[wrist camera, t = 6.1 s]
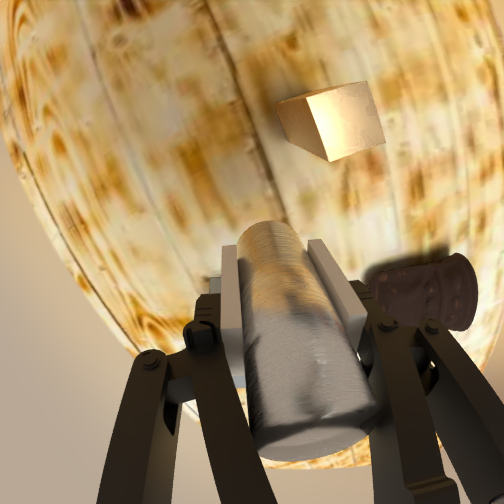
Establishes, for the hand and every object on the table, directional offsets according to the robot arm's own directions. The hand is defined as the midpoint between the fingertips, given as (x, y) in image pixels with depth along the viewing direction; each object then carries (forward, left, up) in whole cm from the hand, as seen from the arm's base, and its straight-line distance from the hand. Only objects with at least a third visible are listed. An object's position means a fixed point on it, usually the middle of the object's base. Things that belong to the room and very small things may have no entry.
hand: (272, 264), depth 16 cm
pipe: (+16, +21, -15) cm, 30 cm away
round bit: (0, 0, -2) cm, 2 cm away
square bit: (-8, +5, -14) cm, 17 cm away
